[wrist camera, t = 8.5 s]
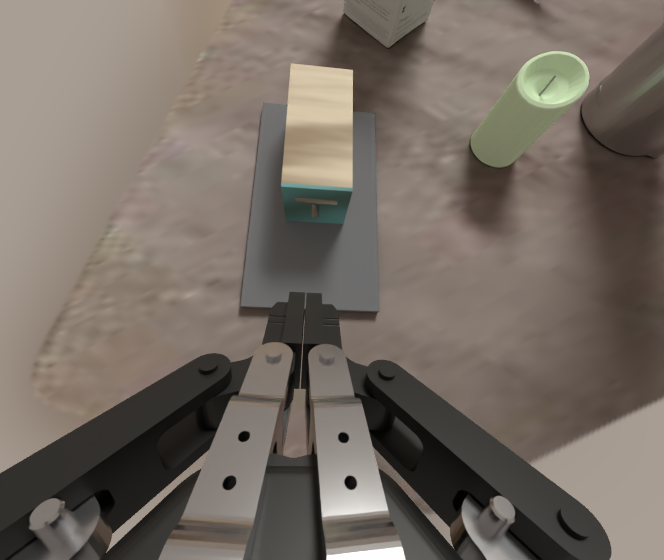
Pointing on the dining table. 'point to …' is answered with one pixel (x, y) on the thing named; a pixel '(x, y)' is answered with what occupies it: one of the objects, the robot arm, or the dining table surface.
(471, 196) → the dining table surface
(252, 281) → the mat
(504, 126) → the candle
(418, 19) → the supplement box
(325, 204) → the block
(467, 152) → the dining table surface
